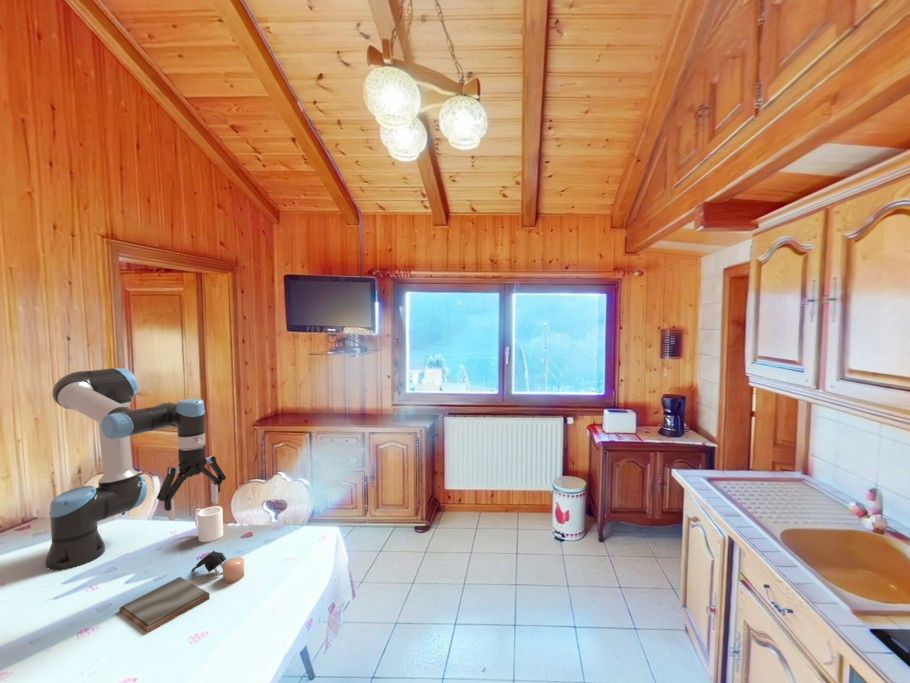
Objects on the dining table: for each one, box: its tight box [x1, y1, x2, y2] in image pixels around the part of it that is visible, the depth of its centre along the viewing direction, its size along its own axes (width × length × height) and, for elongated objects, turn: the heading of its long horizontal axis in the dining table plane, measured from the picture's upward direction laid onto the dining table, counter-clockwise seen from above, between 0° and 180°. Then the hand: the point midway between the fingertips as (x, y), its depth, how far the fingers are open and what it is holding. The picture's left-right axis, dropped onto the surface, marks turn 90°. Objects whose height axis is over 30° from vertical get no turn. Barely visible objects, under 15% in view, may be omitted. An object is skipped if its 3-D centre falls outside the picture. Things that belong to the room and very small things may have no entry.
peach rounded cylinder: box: [222, 556, 245, 584], centre depth 132 cm, size 6×6×5 cm
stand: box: [119, 576, 210, 634], centre depth 118 cm, size 16×16×2 cm
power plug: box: [191, 550, 227, 576], centre depth 134 cm, size 6×8×12 cm
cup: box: [194, 505, 224, 543], centre depth 158 cm, size 8×12×10 cm
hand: (194, 510), depth 134 cm, fingers open, 13 cm apart
